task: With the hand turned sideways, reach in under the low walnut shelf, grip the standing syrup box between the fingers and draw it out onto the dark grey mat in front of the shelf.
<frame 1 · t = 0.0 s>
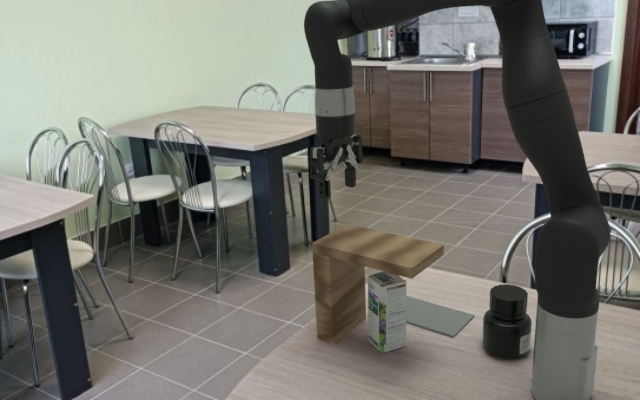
hand: (338, 192, 123), 29 cm above the table, tool pointing down, fingers open, 8 cm apart
ink bottle: (505, 349, 120), on the table
mat: (421, 314, 134), on the table
shelf: (378, 340, 125), on the table
syrup box: (387, 344, 124), on the table
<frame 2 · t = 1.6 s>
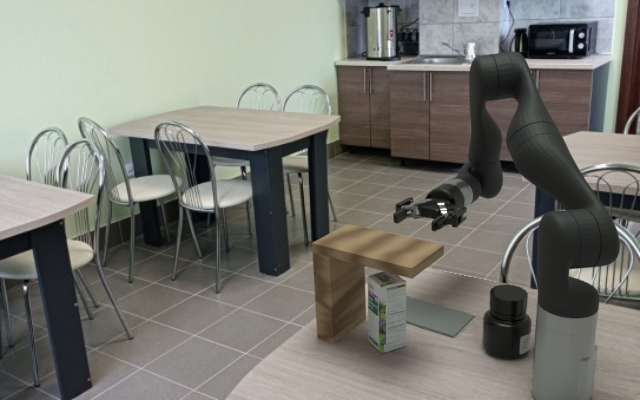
hand: (413, 222, 125), 22 cm above the table, tool horizontal, fingers open, 8 cm apart
nothing on the table moved.
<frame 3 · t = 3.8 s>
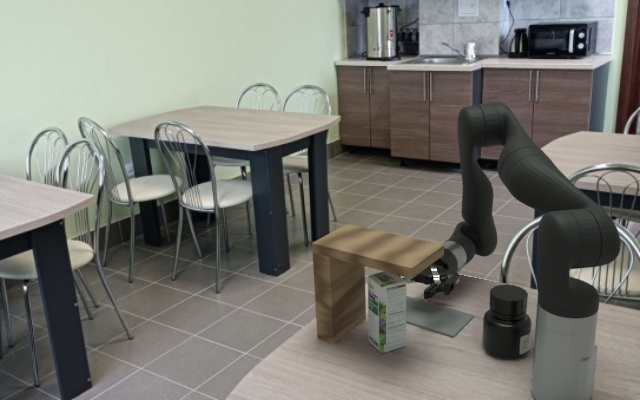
hand: (406, 290, 127), 8 cm above the table, tool horizontal, fingers open, 8 cm apart
nothing on the table moved.
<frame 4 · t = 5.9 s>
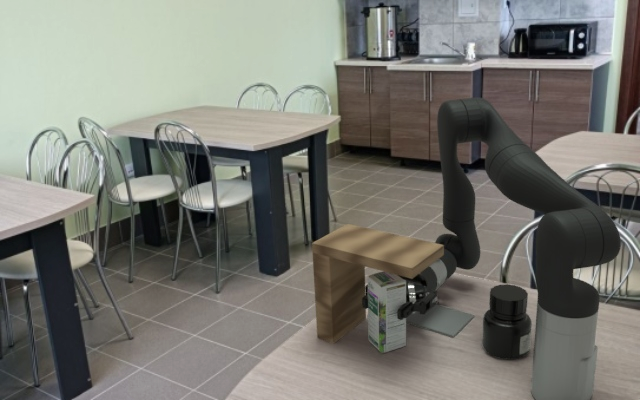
hand: (381, 309, 120), 9 cm above the table, tool horizontal, fingers closed on syrup box, 7 cm apart
syrup box: (387, 344, 124), on the table, touching gripper
everything else where it was.
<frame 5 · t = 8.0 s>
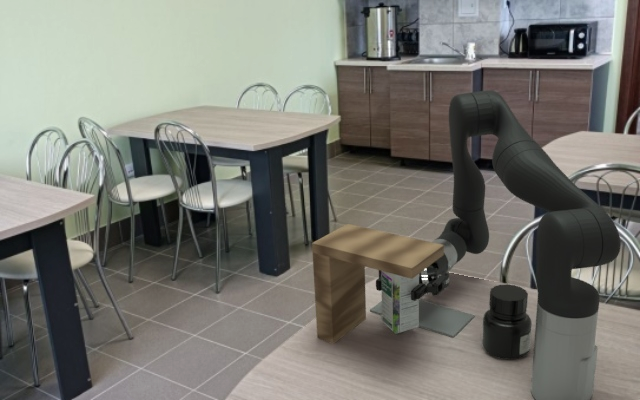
hand: (394, 291, 123), 10 cm above the table, tool horizontal, fingers closed on syrup box, 7 cm apart
syrup box: (400, 325, 127), point 1 cm above the table, touching gripper
everything else where it was.
when the fingers open (9 cm above the table, at t = 10.3 s): syrup box stays where it is, resting on mat.
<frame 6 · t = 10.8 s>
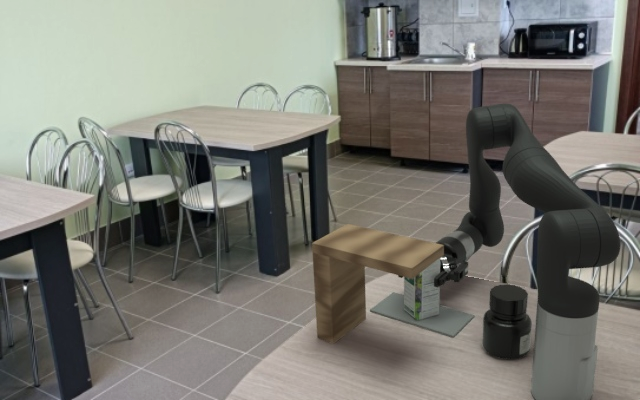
hand: (417, 278, 130), 9 cm above the table, tool horizontal, fingers open, 8 cm apart
syrup box: (421, 313, 134), resting on mat
everything else where it was.
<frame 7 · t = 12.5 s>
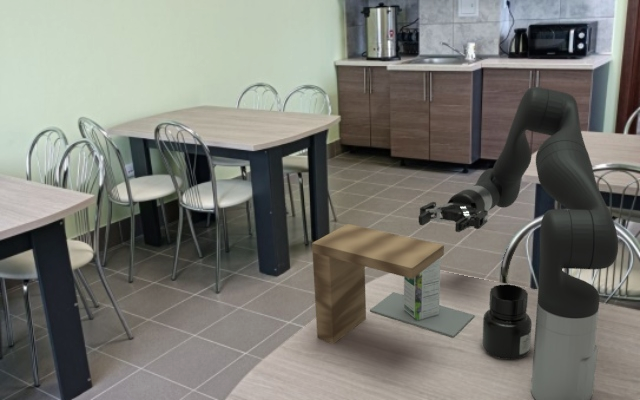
hand: (438, 224, 133), 19 cm above the table, tool horizontal, fingers open, 8 cm apart
nothing on the table moved.
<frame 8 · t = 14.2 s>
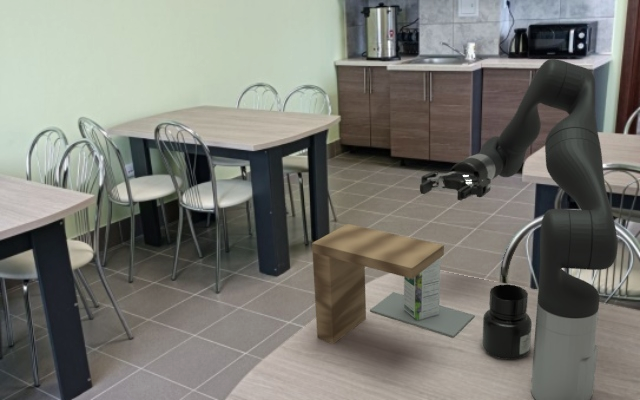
hand: (440, 192, 130), 26 cm above the table, tool horizontal, fingers open, 8 cm apart
nothing on the table moved.
at the end: syrup box inside the target area (1.9 cm from its centre), resting on mat; syrup box tilted 0°; the gripper is holding nothing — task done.
